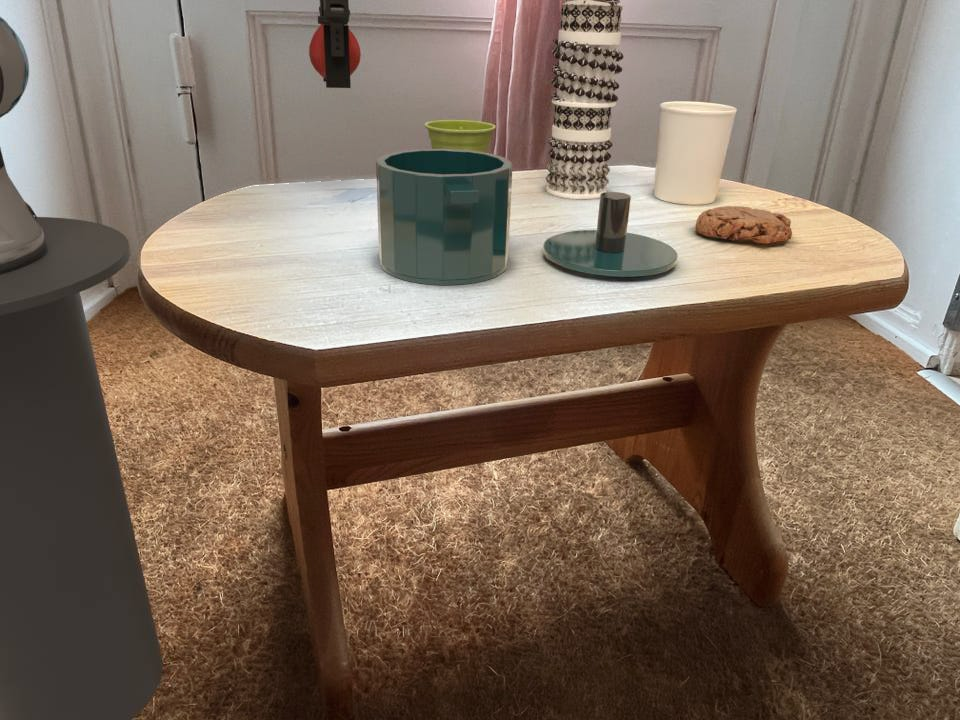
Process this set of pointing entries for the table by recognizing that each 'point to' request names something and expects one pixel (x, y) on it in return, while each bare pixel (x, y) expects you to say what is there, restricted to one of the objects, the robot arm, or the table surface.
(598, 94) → the decorative candle
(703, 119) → the white cup
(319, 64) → the onion
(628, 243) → the pot lid
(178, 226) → the table surface
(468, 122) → the plant pot
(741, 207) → the cookie
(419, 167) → the pot
